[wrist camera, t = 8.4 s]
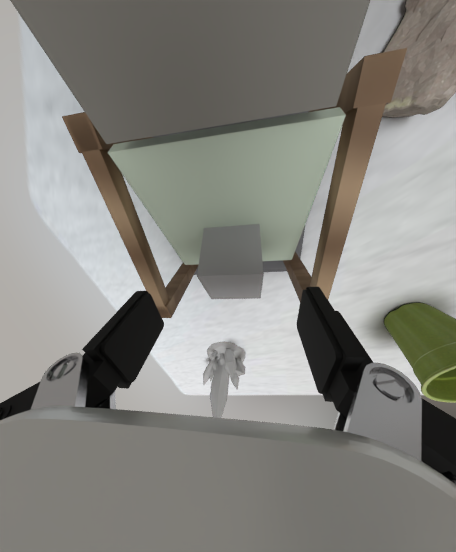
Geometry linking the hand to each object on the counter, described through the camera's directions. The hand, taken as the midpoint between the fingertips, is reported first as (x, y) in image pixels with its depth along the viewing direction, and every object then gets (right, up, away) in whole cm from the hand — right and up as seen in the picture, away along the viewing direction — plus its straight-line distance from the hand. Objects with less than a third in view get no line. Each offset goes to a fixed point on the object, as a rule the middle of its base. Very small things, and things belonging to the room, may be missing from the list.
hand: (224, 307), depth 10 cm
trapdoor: (0, +9, +3) cm, 10 cm away
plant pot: (+33, -5, +20) cm, 39 cm away
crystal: (0, -18, +32) cm, 36 cm away
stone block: (+1, +5, +7) cm, 9 cm away
